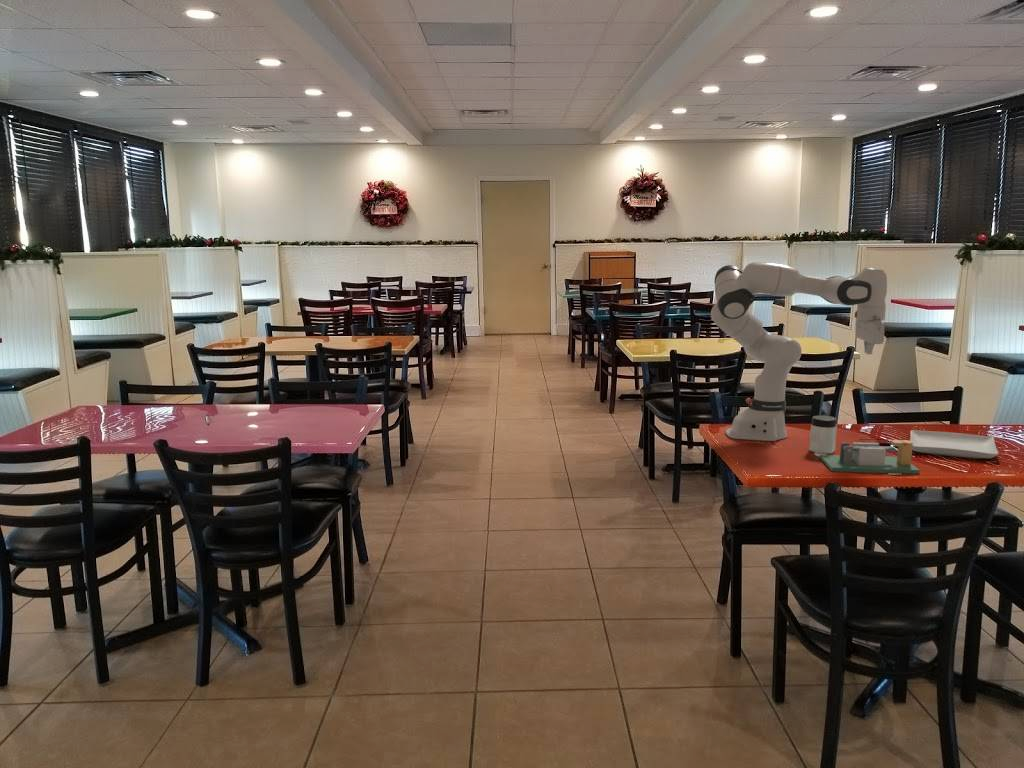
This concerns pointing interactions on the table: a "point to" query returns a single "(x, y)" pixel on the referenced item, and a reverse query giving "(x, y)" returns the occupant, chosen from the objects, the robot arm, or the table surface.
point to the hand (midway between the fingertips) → (868, 353)
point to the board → (864, 468)
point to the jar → (823, 434)
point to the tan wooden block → (903, 451)
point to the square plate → (953, 444)
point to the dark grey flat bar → (888, 449)
